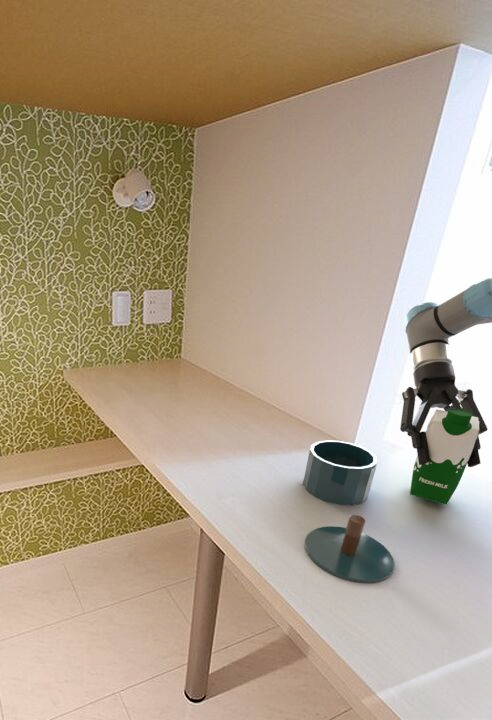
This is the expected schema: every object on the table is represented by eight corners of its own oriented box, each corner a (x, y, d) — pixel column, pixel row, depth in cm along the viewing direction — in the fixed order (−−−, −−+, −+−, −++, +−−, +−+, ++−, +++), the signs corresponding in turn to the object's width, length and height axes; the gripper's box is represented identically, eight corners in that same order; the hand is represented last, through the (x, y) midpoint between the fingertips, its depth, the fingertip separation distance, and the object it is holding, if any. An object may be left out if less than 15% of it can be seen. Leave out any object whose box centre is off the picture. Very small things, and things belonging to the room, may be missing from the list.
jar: (380, 500, 96) (392, 462, 91) (331, 512, 91) (340, 472, 87) (336, 472, 107) (344, 437, 103) (290, 480, 103) (297, 444, 99)
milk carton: (404, 495, 95) (433, 410, 87) (408, 478, 102) (436, 398, 93) (451, 508, 91) (487, 421, 82) (452, 490, 98) (486, 407, 89)
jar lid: (412, 574, 75) (426, 535, 71) (344, 594, 70) (356, 555, 67) (348, 525, 87) (358, 490, 84) (287, 540, 83) (294, 503, 79)
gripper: (471, 378, 100) (491, 471, 93) (374, 374, 102) (386, 466, 94) (495, 361, 93) (518, 461, 86) (390, 358, 94) (404, 456, 87)
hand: (449, 464), depth 90 cm, fingers closed on milk carton, 9 cm apart
